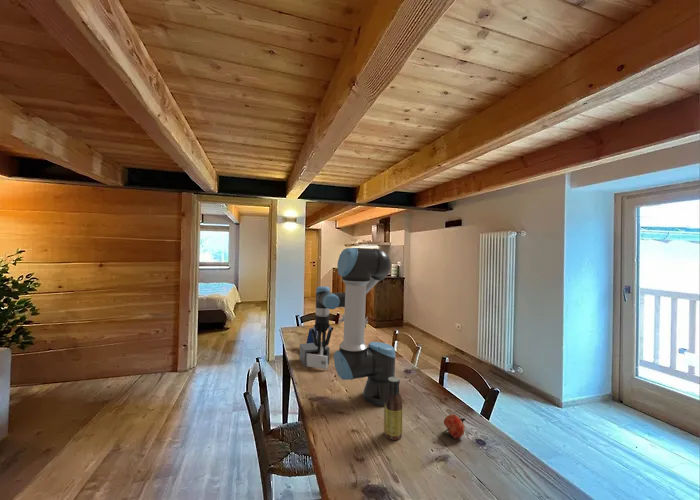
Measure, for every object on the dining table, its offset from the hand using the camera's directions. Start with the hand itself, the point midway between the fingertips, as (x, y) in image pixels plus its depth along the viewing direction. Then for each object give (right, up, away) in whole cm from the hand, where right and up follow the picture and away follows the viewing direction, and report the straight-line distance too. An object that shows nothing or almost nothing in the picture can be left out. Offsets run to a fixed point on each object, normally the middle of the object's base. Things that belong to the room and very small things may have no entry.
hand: (320, 358), depth 166 cm
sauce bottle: (+31, -6, -61) cm, 68 cm away
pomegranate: (+52, -6, -60) cm, 79 cm away
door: (-2, -4, -4) cm, 6 cm away
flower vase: (+17, -5, +22) cm, 29 cm away
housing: (-5, -5, +7) cm, 10 cm away
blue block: (-8, -5, +28) cm, 30 cm away
